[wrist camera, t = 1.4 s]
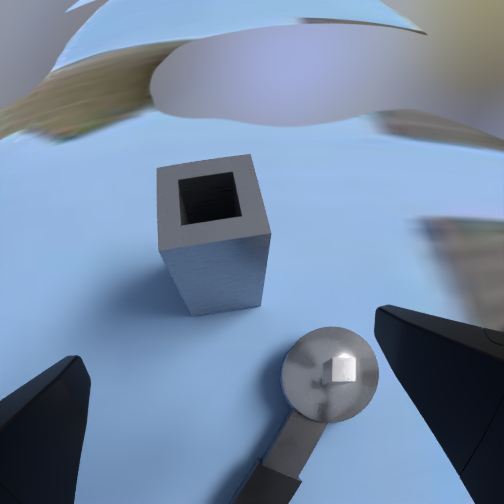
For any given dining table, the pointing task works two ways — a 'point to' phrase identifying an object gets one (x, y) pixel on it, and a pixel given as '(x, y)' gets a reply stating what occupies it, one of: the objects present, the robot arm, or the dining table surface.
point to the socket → (213, 233)
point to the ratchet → (311, 408)
